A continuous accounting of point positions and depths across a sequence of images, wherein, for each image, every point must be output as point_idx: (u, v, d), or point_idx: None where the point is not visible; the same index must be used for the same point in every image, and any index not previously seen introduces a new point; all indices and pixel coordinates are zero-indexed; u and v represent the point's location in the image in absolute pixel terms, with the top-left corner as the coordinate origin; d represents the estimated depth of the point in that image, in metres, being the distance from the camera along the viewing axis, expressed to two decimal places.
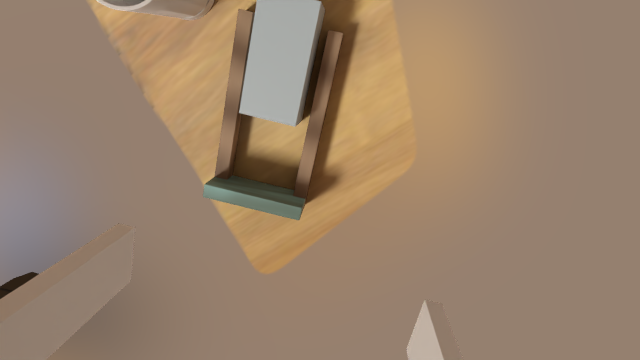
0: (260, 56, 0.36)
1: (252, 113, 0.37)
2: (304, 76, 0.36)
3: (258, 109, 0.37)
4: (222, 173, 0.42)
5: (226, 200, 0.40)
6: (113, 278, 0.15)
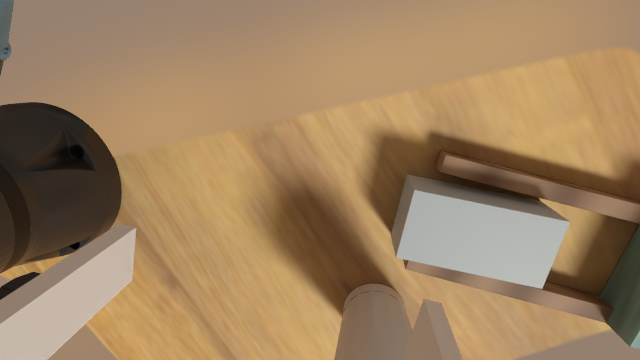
0: (473, 259, 0.29)
1: (544, 273, 0.29)
2: (503, 209, 0.28)
3: (539, 266, 0.29)
4: (603, 313, 0.32)
5: None
6: (114, 278, 0.15)
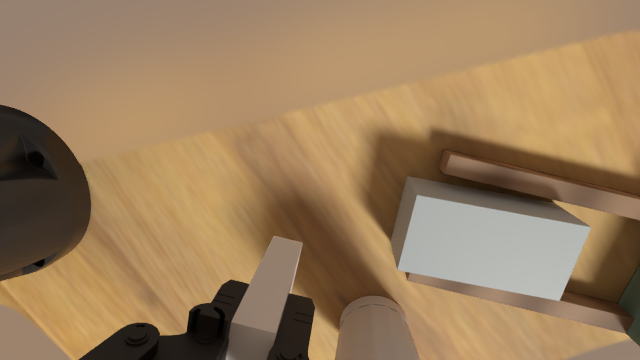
0: (483, 270, 0.26)
1: (562, 283, 0.26)
2: (516, 214, 0.25)
3: (557, 276, 0.26)
4: (623, 323, 0.30)
5: None
6: None
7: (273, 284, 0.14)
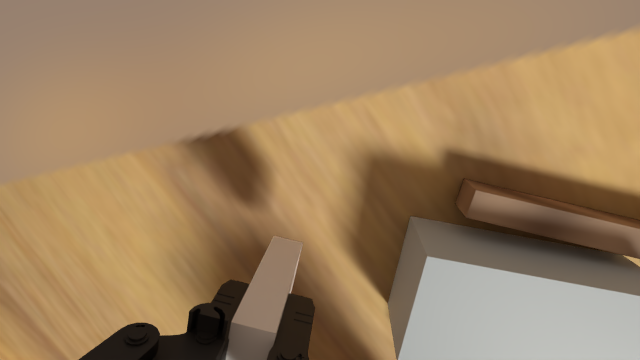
0: None
1: None
2: (581, 287, 0.16)
3: None
4: None
5: None
6: None
7: (273, 284, 0.14)
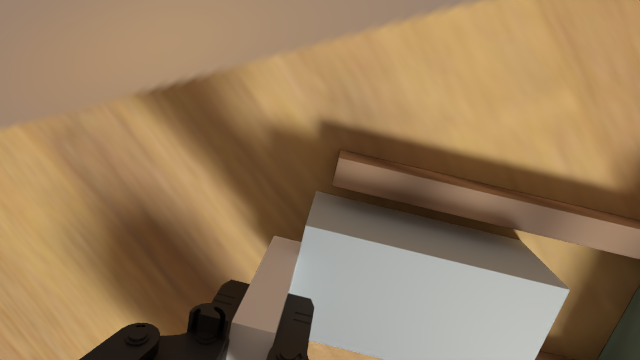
0: (406, 342, 0.17)
1: None
2: (456, 264, 0.16)
3: (515, 357, 0.17)
4: None
5: None
6: None
7: (272, 284, 0.14)
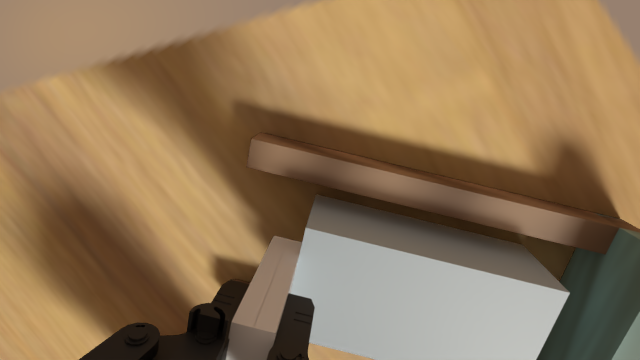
0: (406, 344, 0.17)
1: None
2: (456, 266, 0.16)
3: None
4: None
5: None
6: None
7: (273, 284, 0.14)
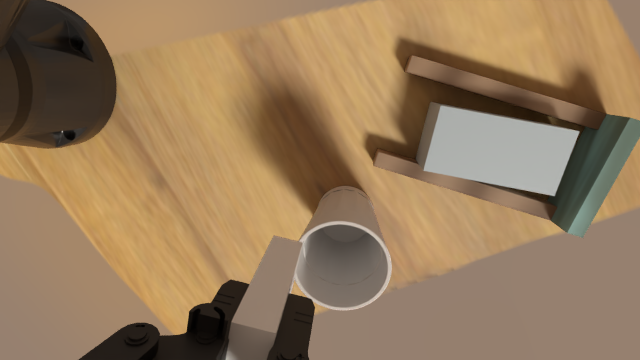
0: (492, 170, 0.33)
1: (556, 181, 0.33)
2: (519, 121, 0.31)
3: (552, 174, 0.32)
4: (548, 211, 0.36)
5: (594, 211, 0.33)
6: None
7: (273, 284, 0.14)
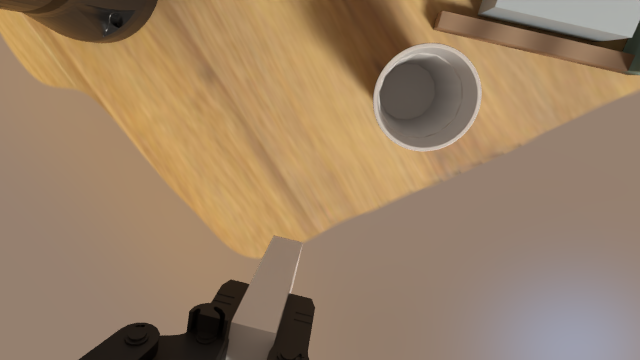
0: (569, 6, 0.31)
1: (636, 19, 0.31)
2: None
3: (632, 11, 0.31)
4: (625, 60, 0.34)
5: None
6: None
7: (273, 284, 0.14)
